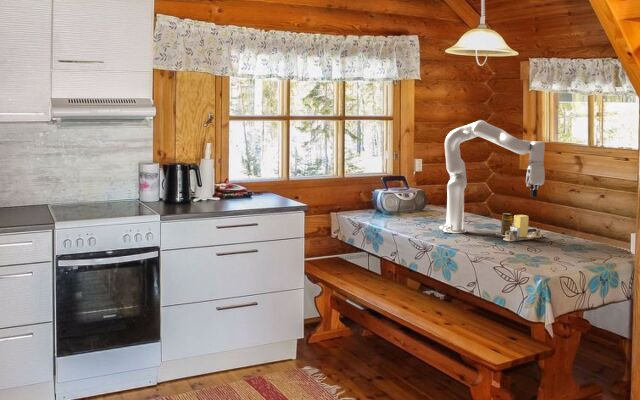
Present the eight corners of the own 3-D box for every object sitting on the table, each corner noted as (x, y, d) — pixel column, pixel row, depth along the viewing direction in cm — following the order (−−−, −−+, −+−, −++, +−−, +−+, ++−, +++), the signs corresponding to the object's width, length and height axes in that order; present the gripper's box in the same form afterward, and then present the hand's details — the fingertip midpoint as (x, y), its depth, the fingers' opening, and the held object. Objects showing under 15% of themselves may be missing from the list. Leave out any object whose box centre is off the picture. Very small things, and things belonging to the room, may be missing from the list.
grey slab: (516, 239, 380) (517, 228, 379) (509, 237, 385) (510, 226, 384) (519, 238, 381) (520, 227, 380) (512, 237, 386) (513, 226, 385)
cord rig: (509, 241, 378) (509, 232, 377) (503, 239, 382) (503, 230, 382) (541, 237, 389) (542, 228, 388) (535, 235, 394) (535, 227, 393)
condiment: (514, 234, 396) (516, 214, 394) (504, 236, 391) (505, 215, 389) (505, 232, 402) (506, 212, 400) (494, 234, 397) (495, 213, 395)
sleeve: (519, 237, 381) (520, 216, 379) (512, 235, 385) (513, 215, 384) (527, 236, 384) (528, 216, 382) (520, 234, 388) (522, 214, 386)
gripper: (531, 164, 376) (528, 198, 379) (551, 164, 383) (548, 197, 386) (521, 163, 382) (518, 196, 385) (541, 162, 389) (538, 194, 392)
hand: (533, 196), depth 386 cm, fingers closed
